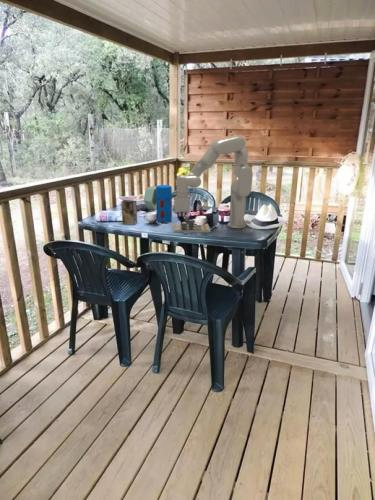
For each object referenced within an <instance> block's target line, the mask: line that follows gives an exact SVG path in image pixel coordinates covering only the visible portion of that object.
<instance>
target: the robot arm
mask: <svg viewBox="0 0 375 500" xmlns="http://www.w3.org/2000/svg"><path fill="white" fill-rule="evenodd" d="M246 144H247V143H246V139H245V138H244V137H243V136H240V135H230V136H228V138H226V139H215V140H213V141H212V142H211V144H210V145H209V147H208V148H207V149H206V151H205V152H204V154H203V155H202V157H201V158H200V159H199V160H198V161H197V162H196V164H194V165H193V167H191V170H190V171H189V172H188V174H187V175H185V174H178V175H177V176H176V195H175V196H174V201H173V214H176V215H177V216H178V221H179V223H181V221H182V222H183V221H184V217H186V215H188V214H191V213H190V212H191V211H190V205H191V204H190V203H191V202H190V197H189V196H190V195H191V192H189V188H198V187H200V186H201V184H202V180H201V175H202V174H203V173H204V172H205V171H206V170H209V169H210V168H212V167H213V166H214V164H215V163H216V162H217V160H218V158H219V157H220V156H221V155H226V154H227V155H228V154H232V153H233V154H234V162H233V175H234V176H235V177H236V178H237V179H235V180H233V181H232V182H231V185H230V212H229V213H230V214H229V222H228V223H227V227H229V228H233V229H243V228H246V226H247V224H249V225H250V224H251V223H252V222H251V220H245V209H246V198H247V197H248V196H249V195H250V194H251V192H252V184H253V177H254V175H253V173H254V172H253V169H252V167H251V166H249V165H248V162H249V161H248V160H249V153H248V149H247V145H246ZM181 213H182V214H181ZM181 219H182V220H181Z"/></svg>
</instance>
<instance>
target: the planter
mask: <svg viewBox="0 0 375 500" xmlns="http://www.w3.org/2000/svg"><path fill="white" fill-rule="evenodd" d="M156 186H157V185H156ZM156 186H155V185H153V186H147V187H146V188H145V191H144V197H143V202H144V205H145V207H146V208H147V210H151V211H157V205H156Z"/></svg>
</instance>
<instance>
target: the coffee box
mask: <svg viewBox="0 0 375 500" xmlns="http://www.w3.org/2000/svg"><path fill="white" fill-rule="evenodd" d="M120 204H121V215H122V217H121V218H122V225H129V226H130V225H131V226H135V225H137V224H138V212H137V211H138V209H137V208H138V207H137V200H132V199H124V200H122V201H121V202H120Z"/></svg>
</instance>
